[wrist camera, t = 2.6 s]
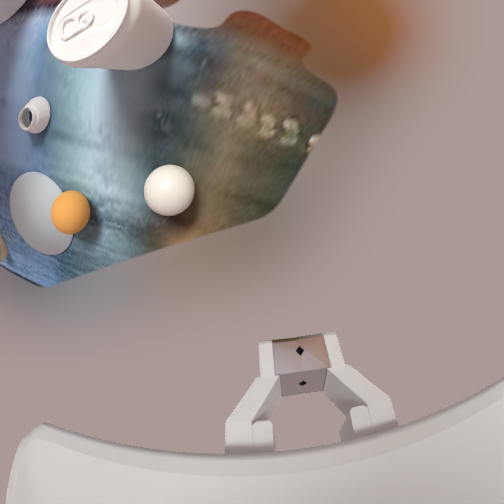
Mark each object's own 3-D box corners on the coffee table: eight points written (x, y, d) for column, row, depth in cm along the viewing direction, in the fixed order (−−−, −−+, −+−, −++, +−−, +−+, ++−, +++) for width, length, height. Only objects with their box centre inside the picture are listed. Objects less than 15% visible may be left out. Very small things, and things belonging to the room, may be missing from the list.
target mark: (0, 185, 28) (-1, 186, 27) (54, 159, 27) (53, 159, 27) (31, 258, 35) (30, 259, 35) (87, 248, 35) (86, 249, 34)
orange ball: (59, 189, 29) (37, 206, 25) (89, 179, 29) (67, 197, 24) (72, 224, 32) (53, 245, 28) (102, 217, 32) (83, 239, 28)
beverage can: (179, 58, 22) (140, 42, 12) (111, 80, 23) (47, 85, 13) (170, -2, 18) (131, -43, 8) (103, 22, 18) (41, 4, 8)
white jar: (27, 99, 22) (27, 133, 24) (13, 102, 19) (14, 139, 22) (52, 93, 22) (52, 130, 25) (38, 96, 20) (39, 135, 22)
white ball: (147, 164, 29) (130, 179, 24) (193, 154, 28) (183, 168, 24) (159, 206, 32) (145, 228, 27) (202, 199, 32) (195, 221, 27)
